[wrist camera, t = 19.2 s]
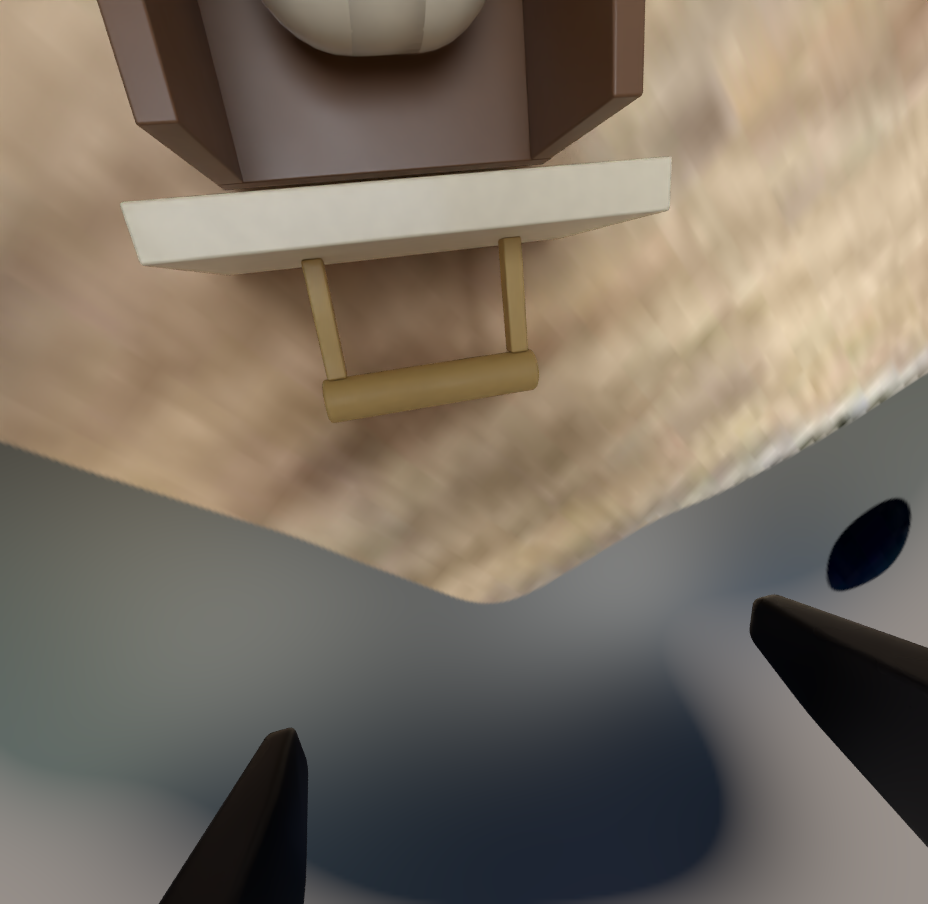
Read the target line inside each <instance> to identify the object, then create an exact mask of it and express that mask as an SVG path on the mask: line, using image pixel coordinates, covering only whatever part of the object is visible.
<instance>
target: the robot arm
mask: <svg viewBox="0 0 928 904" xmlns="http://www.w3.org/2000/svg"><path fill="white" fill-rule="evenodd" d="M750 635H751V638H752V640H753V642H754V643H755V645H756V646H757V648H758V649H759V650H760V651H761V653H762V654H763V655H764V657H765V658H766V659H767V661H768V662H769V663H770V664H771V666H772V667H773V669H774V670H775V671H776V672H777V674H778V675H779V676H780V678H781V679H782V680H783V681H784V683H785V684H786V685H787V687H788V688H789V689H790V691H791V692H792V693H793V694H794V696H795V697H796V699H797V700H798V701H799V703H800V704H801V705H802V706H803V707H804V709H805V710H806V711H807V713H808V714H809V715H810V716H811V717H812V719H813V720H814V721H815V722H816V723H817V724H818V726H819V727H820V728H821V729H822V730H823V731H824V732H825V733H826V735H827V736H828V737H829V738H830V739H831V740H832V741H833V742H834V743H835V745H836V746H837V747H838V748H839V749H840V750H841V751H842V752H843V753H844V755H845V756H846V757H847V758H848V759H849V760H850V761H851V762H852V764H854V766H855V767H856V768H857V769H858V770H859V771H860V772H861V773H862V775H863V776H864V777H865V778H866V779H867V780H868V781H869V782H870V783H871V785H872V786H873V787H874V788H875V789H876V790H877V791H878V792H879V793H880V795H881V796H882V797H883V798H884V799H885V800H886V801H887V802H888V804H889V805H890V806H891V807H892V808H893V809H894V810H895V811H896V812H897V814H898V815H899V816H900V817H901V818H902V819H903V820H904V821H905V823H907V825H908V826H909V827H910V828H911V829H912V830H913V831H914V832H915V834H916V835H917V836H918V837H919V838H920V839H921V840H922V841H923V842H924V844H925V845H926V846H927V847H928V648H926V647H923V646H921V645H918V644H915V643H912V642H910V641H907V640H904V639H901V638H898V637H895V636H893V635H890V634H887V633H884V632H881V631H878V630H876V629H873V628H870V627H867V626H864V625H861V624H859V623H856V622H853V621H850V620H847V619H845V618H841V617H839V616H836V615H833V614H830V613H827V612H825V611H822V610H819V609H816V608H813V607H811V606H808V605H805V604H802V603H799V602H796V601H794V600H791V599H788V598H785V597H782V596H779V595H768V596H765V597H761V598H758V599H756V600H755V601H754V603H753V607H752V614H751V623H750ZM307 803H308V766H307V760H306V757H305V754H304V751H303V749H302V747H301V743H300V741H299V738H298V735H297V733H296V731H295V730H294V729H293V728H286V729H283V730H279V731H276V732H272V733H270V734H269V735H268V736H267V737H266V738H265V739H264V741H263V742H262V744H261V745H260V747H259V749H258V750H257V752H256V753H255V755H254V756H253V758H252V759H251V761H250V763H249V764H248V766H247V767H246V769H245V770H244V772H243V773H242V775H241V777H240V778H239V780H238V781H237V783H236V784H235V786H234V787H233V789H232V791H231V792H230V794H229V795H228V797H227V798H226V800H225V801H224V803H223V805H222V806H221V808H220V809H219V811H218V812H217V814H216V815H215V817H214V819H213V820H212V822H211V823H210V825H209V826H208V828H207V829H206V831H205V833H204V834H203V836H202V837H201V839H200V840H199V842H198V844H197V845H196V847H195V848H194V850H193V851H192V853H191V854H190V856H189V858H188V859H187V861H186V863H185V864H184V865H183V867H182V869H181V870H180V872H179V873H178V875H177V877H176V878H175V879H174V881H173V882H172V884H171V886H170V887H169V889H168V890H167V892H166V893H165V895H164V896H163V898H162V900H161V901H160V903H159V904H304V896H305V885H306V858H307Z"/></svg>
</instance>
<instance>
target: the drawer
mask: <svg viewBox="0 0 928 904" xmlns="http://www.w3.org/2000/svg"><path fill="white" fill-rule="evenodd" d="M97 2H98V5H99V8H100V12H101V15H102V18H103V21H104V24H105V27H106V31H107V34H108V37H109V40H110V43H111V46H112V50H113V53H114V56H115V59H116V62H117V65H118V69H119V72H120V75H121V78H122V81H123V84H124V88H125V91H126V94H127V97H128V100H129V103H130V107H131V110H132V113H133V116H134V119H135V122H136V124H137V125H138V126H139V127H141V128H142V129H143V130H145V131H146V132H147V133H149V134H150V135H151V136H153V137H154V138H155V139H157V140H158V141H159V142H161V143H162V144H163V145H165V146H166V147H167V148H169V149H170V150H171V151H173V152H174V153H175V154H177V155H178V156H179V157H181V158H182V159H183V160H185V161H186V162H188V163H189V164H190V165H192V166H193V167H194V168H196V169H197V170H198V171H200V172H201V173H202V174H204V175H205V176H206V177H208V178H209V179H210V180H212V181H213V182H214V183H216V184H217V185H218V186H219V187H221V188H222V189H224V190H234V189H246V188H259V187H271V186H283V185H295V184H307V183H319V182H331V181H344V180H356V179H368V178H380V177H392V176H404V175H417V174H429V173H441V172H453V171H465V170H477V169H489V168H502V167H514V166H526V165H538V164H543V163H545V162H546V161H548V160H549V159H551V157H553V156H554V155H556V154H557V153H559V152H560V151H562V150H563V149H565V148H566V147H568V146H569V145H570V144H572V143H573V142H575V141H576V140H578V139H579V138H581V137H582V136H584V135H585V134H586V133H588V132H589V131H591V130H592V129H594V128H595V127H597V126H598V125H599V124H601V123H602V122H604V121H605V120H607V119H608V118H610V117H611V116H613V115H614V114H615V113H617V112H618V111H620V110H621V109H623V108H624V107H626V106H627V105H629V104H630V103H631V102H633V101H634V100H636V99H637V98H639V97H640V96H641V95H642V93H643V67H644V27H645V0H486V2H485V4H484V6H483V8H482V10H481V12H480V13H479V15H478V16H477V18H476V19H475V20H474V21H473V23H472V24H471V25H470V26H469V28H468V29H467V30H466V31H465V32H464V33H463V34H462V35H461V36H459V37H458V38H457V39H456V40H454V41H453V42H452V43H451V44H449V45H447V46H445V47H443V48H441V49H439V50H437V51H434V52H430V53H424V54H419V55H396V56H369V57H345V56H334V55H331V54H328V53H325V52H322V51H319V50H316V49H314V48H312V47H311V46H309V45H307V44H306V43H304V42H302V41H301V40H299V39H297V38H296V37H295V36H294V35H292V34H291V33H290V32H289V31H288V30H287V29H286V28H284V27H283V26H282V25H281V24H280V23H279V22H278V21H277V20H276V19H275V17H274V16H273V15H272V14H271V13H270V12H269V10H268V9H267V8H266V7H265V6H264V4H263V3H262V2H261V0H97ZM671 167H672V158H671V157H669V156H667V157H655V158H643V159H631V160H619V161H607V162H595V163H583V164H571V165H559V166H547V167H535V168H523V169H511V170H499V171H487V172H475V173H463V174H451V175H439V176H427V177H415V178H403V179H391V180H379V181H367V182H355V183H343V184H331V185H319V186H307V187H295V188H283V189H271V190H259V191H247V192H235V193H223V194H211V195H199V196H187V197H175V198H163V199H151V200H139V201H127V202H122V203H120V207H121V210H122V213H123V215H124V218H125V221H126V224H127V227H128V230H129V233H130V236H131V239H132V241H133V244H134V247H135V250H136V253H137V256H138V259H139V262H140V263H141V265H143V266H150V267H159V268H168V269H176V270H185V271H194V272H203V273H211V274H220V275H238V274H247V273H256V272H265V271H274V270H283V269H291V268H300V267H302V269H303V274H304V278H305V283H306V287H307V292H308V296H309V300H310V305H311V309H312V314H313V318H314V323H315V327H316V331H317V336H318V340H319V345H320V349H321V353H322V358H323V362H324V367H325V371H326V376H327V379H328V380H324V381H323V383H322V390H323V397H324V402H325V407H326V411H327V414H328V417H329V420H330V421H331V422H332V423H337V422H343V421H349V420H355V419H361V418H367V417H373V416H379V415H385V414H391V413H397V412H403V411H409V410H415V409H421V408H427V407H433V406H438V405H444V404H450V403H456V402H462V401H468V400H474V399H480V398H486V397H492V396H498V395H504V394H510V393H516V392H522V391H528V390H533V389H535V388H536V387H537V385H538V379H539V370H538V364H537V360H536V357H535V355H534V353H533V351H532V350H529V349H528V343H527V327H526V310H525V294H524V278H523V262H522V245H521V243H524V242H533V241H542V240H551V239H560V238H564V237H567V236H571V235H575V234H579V233H583V232H587V231H591V230H595V229H599V228H602V227H606V226H610V225H614V224H618V223H622V222H626V221H630V220H633V219H637V218H641V217H645V216H649V215H653V214H657V213H661V212H664V211H667V210H669V208H670V189H671ZM489 246H498V247H499V260H500V273H501V286H502V298H503V311H504V324H505V337H506V349H507V351H509V352H505V353H498V354H492V355H485V356H479V357H472V358H466V359H459V360H452V361H446V362H439V363H433V364H426V365H420V366H413V367H406V368H400V369H393V370H387V371H380V372H374V373H367V374H361V375H354V376H347V371H346V366H345V361H344V356H343V352H342V347H341V342H340V337H339V333H338V328H337V323H336V318H335V313H334V309H333V304H332V299H331V294H330V289H329V285H328V280H327V275H326V270H325V266H324V265H327V264H336V263H345V262H354V261H363V260H372V259H381V258H390V257H399V256H408V255H417V254H426V253H435V252H444V251H453V250H462V249H471V248H480V247H489Z"/></svg>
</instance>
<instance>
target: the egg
mask: <svg viewBox="0 0 928 904" xmlns="http://www.w3.org/2000/svg"><path fill="white" fill-rule="evenodd" d="M261 2H262V3H263V4H264V6H265V7H266V8H267V9H268V10H269V12H270V13H271V14H272V15H273V16H274V17H275V19H276V20H277V21H278V22H279V23H280V24H281V25H282V26H283V27H284V28H286V29H287V30H288V31H289V32H290V33H291V34H292V35H294V36H295V37H296V38H297V39H299V40H301V41H302V42H304V43H306V44H307V45H309V46H311V47H312V48H314V49H316V50H319V51H322V52H325V53H328V54H331V55H334V56H345V57H369V56H396V55H419V54H424V53H430V52H434V51H437V50H439V49H441V48H443V47H445V46H447V45H449V44H451V43H452V42H453V41H454V40H456V39H457V38H458V37H459V36H461V35H462V34H463V33H464V32H465V31H466V30H467V29H468V28H469V26H470V25H471V24H472V23H473V21H474V20H475V19H476V18H477V16H478V15H479V13H480V12H481V10H482V8H483V6H484V4H485V2H486V0H261Z"/></svg>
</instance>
